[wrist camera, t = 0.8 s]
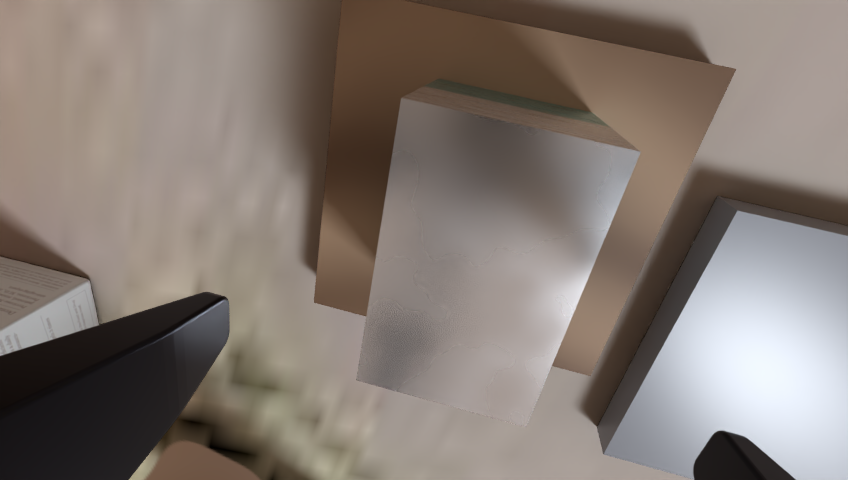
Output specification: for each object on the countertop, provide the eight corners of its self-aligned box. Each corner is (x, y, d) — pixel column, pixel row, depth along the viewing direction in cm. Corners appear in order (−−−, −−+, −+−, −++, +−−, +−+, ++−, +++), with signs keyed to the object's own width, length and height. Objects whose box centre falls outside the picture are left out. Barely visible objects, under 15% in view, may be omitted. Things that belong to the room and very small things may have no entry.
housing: (520, 315, 17) (525, 427, 12) (399, 283, 18) (356, 380, 13) (591, 111, 14) (640, 151, 9) (438, 78, 14) (401, 97, 9)
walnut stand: (584, 352, 19) (590, 376, 18) (326, 285, 20) (313, 302, 19) (714, 66, 14) (736, 69, 13) (357, -8, 15) (342, -13, 13)
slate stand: (858, 499, 20) (883, 532, 18) (597, 427, 21) (603, 454, 19) (1079, 279, 15) (1137, 303, 13) (717, 195, 16) (737, 210, 14)
